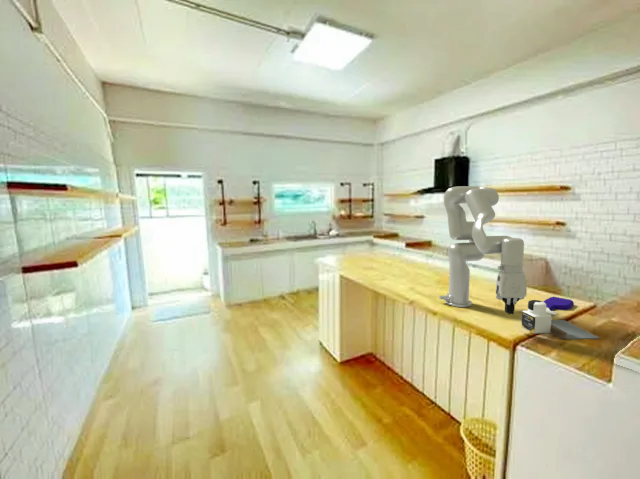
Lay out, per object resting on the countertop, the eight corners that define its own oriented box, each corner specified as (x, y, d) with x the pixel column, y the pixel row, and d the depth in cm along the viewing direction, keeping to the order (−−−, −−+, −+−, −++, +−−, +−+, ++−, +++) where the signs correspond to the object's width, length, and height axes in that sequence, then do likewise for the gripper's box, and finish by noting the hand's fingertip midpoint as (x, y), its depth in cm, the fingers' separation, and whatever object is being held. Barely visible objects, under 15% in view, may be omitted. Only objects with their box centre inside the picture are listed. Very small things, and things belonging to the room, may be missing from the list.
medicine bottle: (521, 326, 130) (522, 299, 129) (537, 325, 130) (538, 298, 129) (534, 333, 123) (535, 304, 121) (550, 332, 123) (552, 303, 122)
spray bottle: (550, 295, 162) (531, 306, 148) (576, 300, 154) (559, 312, 139) (549, 301, 163) (531, 312, 148) (575, 306, 154) (559, 319, 139)
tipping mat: (562, 339, 118) (562, 332, 117) (531, 321, 136) (531, 315, 135) (599, 338, 117) (600, 332, 117) (563, 320, 135) (564, 315, 135)
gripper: (497, 271, 120) (495, 316, 122) (536, 270, 120) (534, 316, 122) (487, 267, 128) (486, 310, 130) (524, 266, 127) (522, 309, 130)
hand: (509, 313), depth 126 cm, fingers closed
